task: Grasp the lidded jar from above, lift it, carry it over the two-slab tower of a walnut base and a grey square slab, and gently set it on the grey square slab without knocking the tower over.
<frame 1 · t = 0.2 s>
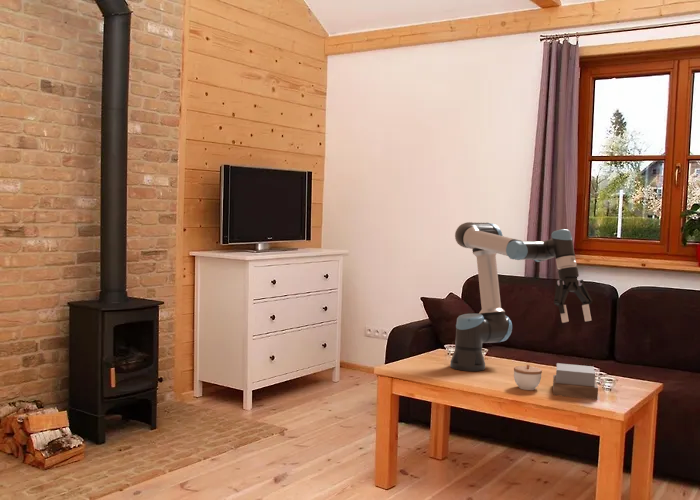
hand: (577, 321, 288), 27 cm above the table, tool tilted 20°, fingers open, 13 cm apart
grey square slab: (574, 380, 287), point 4 cm above the table, touching tower base
tower base: (574, 393, 287), on the table, touching grey square slab
lidded jar: (526, 388, 290), on the table
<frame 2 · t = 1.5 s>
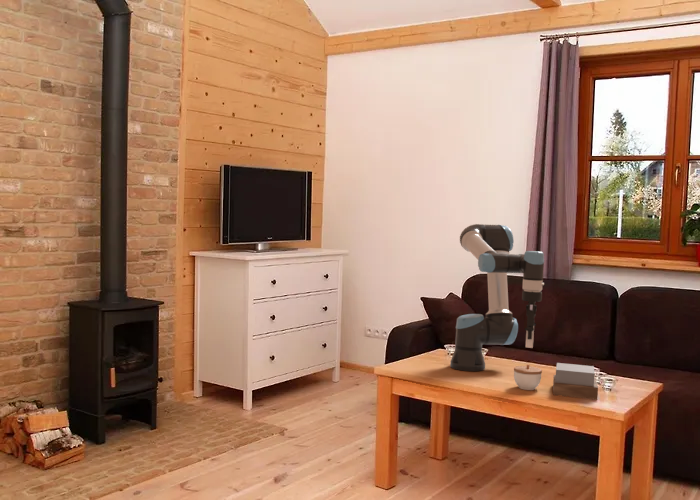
hand: (529, 344, 289), 17 cm above the table, tool pointing down, fingers open, 13 cm apart
nothing on the table moved.
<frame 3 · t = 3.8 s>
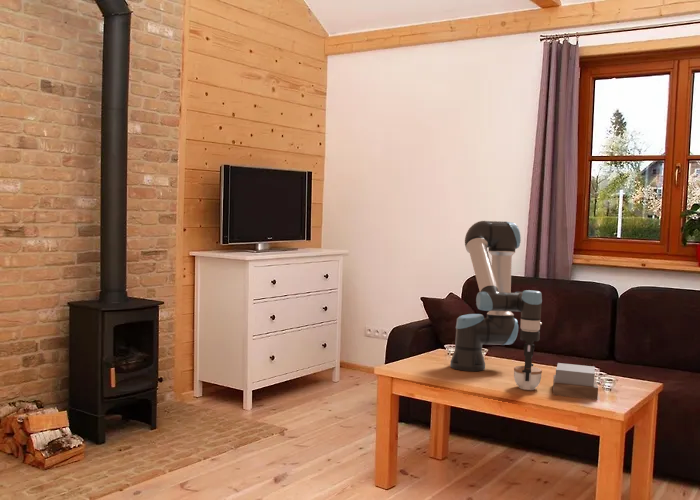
hand: (526, 385, 290), 1 cm above the table, tool pointing down, fingers closed on lidded jar, 11 cm apart
lidded jar: (526, 388, 290), on the table, touching gripper
everything else where it was.
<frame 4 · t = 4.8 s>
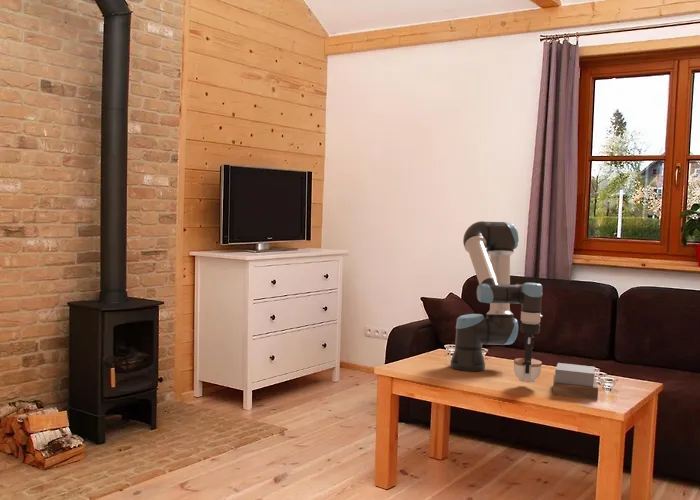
hand: (526, 378, 291), 4 cm above the table, tool pointing down, fingers closed on lidded jar, 11 cm apart
lidded jar: (526, 380, 291), point 3 cm above the table, touching gripper
everything else where it was.
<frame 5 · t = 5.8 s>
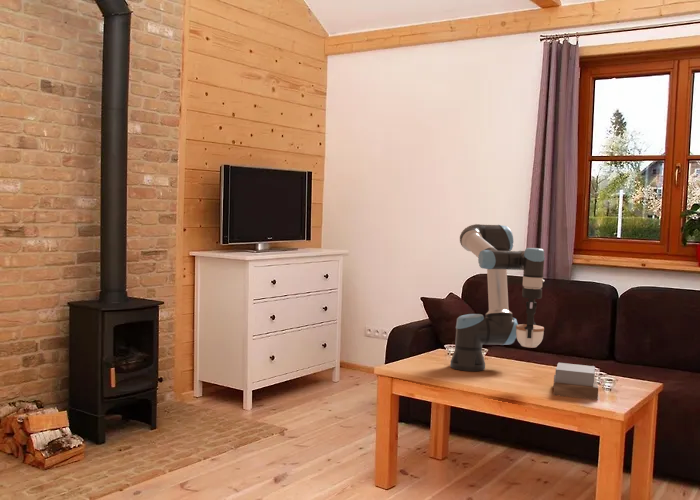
hand: (529, 343, 290), 18 cm above the table, tool pointing down, fingers closed on lidded jar, 11 cm apart
lidded jar: (528, 346, 290), point 16 cm above the table, touching gripper
everything else where it was.
when the fingers open (12 cm above the table, at t = 10.1 s): lidded jar drops 2 cm, resting on grey square slab.
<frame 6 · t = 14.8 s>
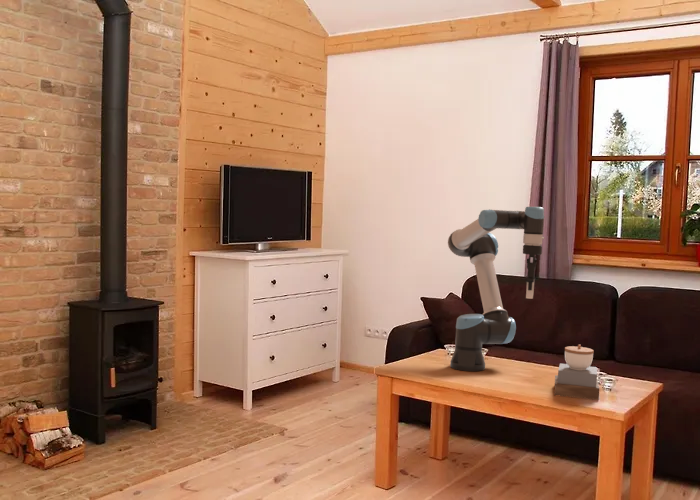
hand: (529, 296, 301), 35 cm above the table, tool pointing down, fingers open, 13 cm apart
grey square slab: (577, 381, 286), point 4 cm above the table, touching tower base, lidded jar
lidded jar: (577, 369, 286), point 9 cm above the table, touching grey square slab
everything else where it was.
at the end: lidded jar inside the target area on the grey square slab (0.3 cm from its centre), point 4.8 cm above the grey square slab's base; grey square slab tilted 0°; grey square slab 0.2 cm from the tower base (horizontally) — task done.
